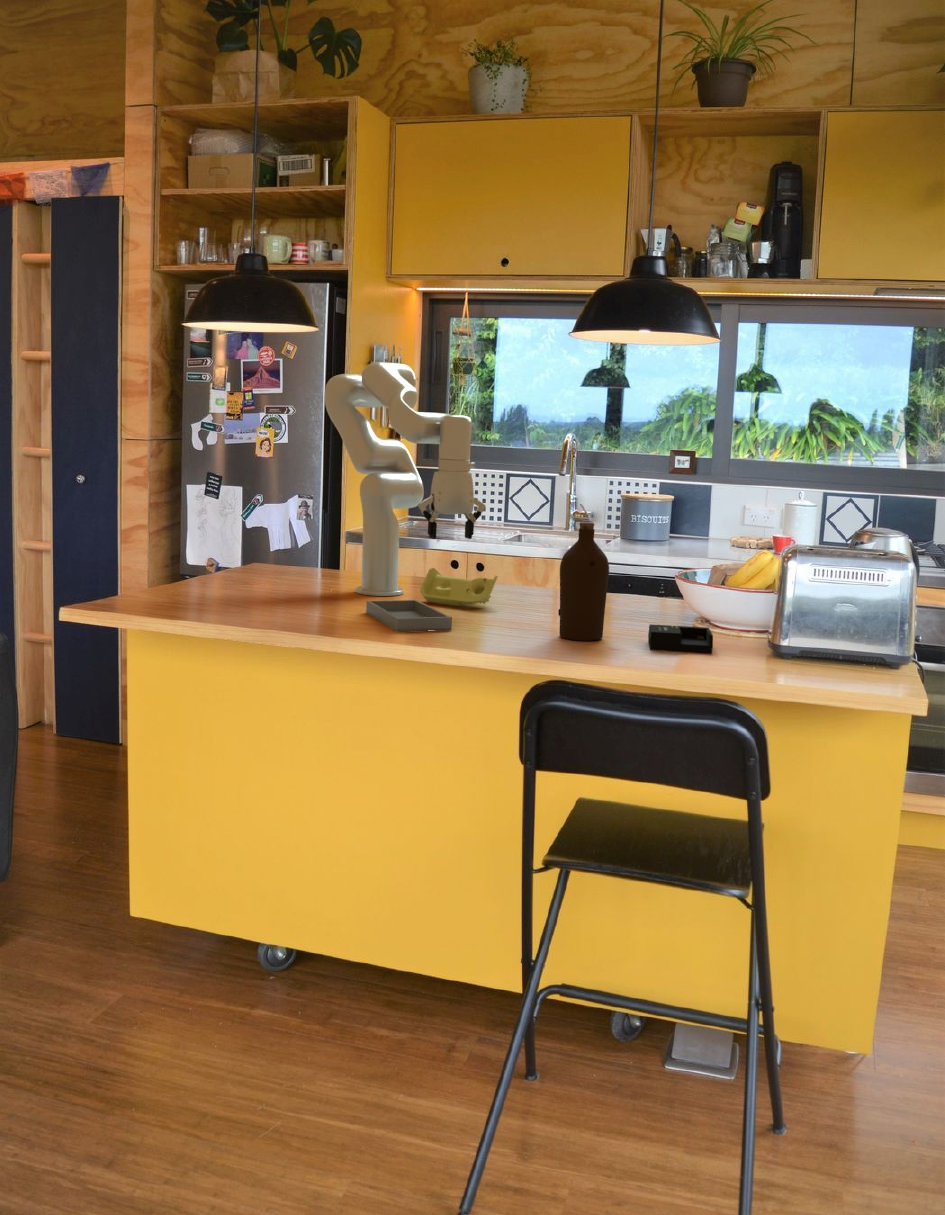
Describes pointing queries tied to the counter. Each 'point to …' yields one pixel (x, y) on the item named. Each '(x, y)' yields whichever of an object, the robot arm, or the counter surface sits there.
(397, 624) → the tray
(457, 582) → the plastic component
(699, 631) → the battery charger
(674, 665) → the counter surface
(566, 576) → the olive oil
